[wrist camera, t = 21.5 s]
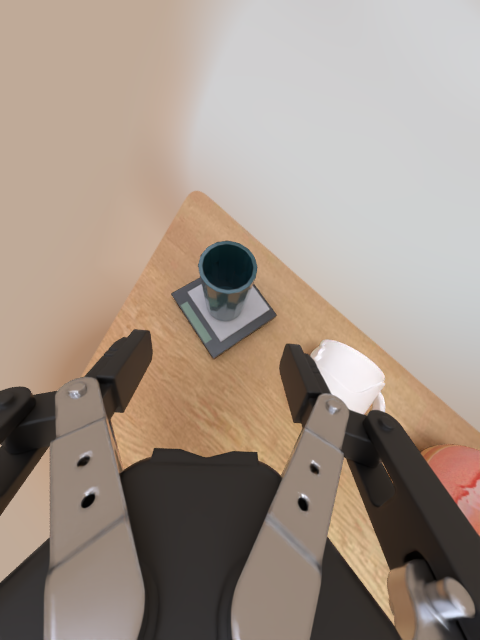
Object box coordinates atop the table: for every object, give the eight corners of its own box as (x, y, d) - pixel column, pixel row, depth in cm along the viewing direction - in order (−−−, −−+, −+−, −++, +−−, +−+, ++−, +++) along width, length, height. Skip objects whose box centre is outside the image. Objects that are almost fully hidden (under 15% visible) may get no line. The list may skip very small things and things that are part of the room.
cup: (219, 328, 29) (219, 304, 18) (198, 297, 30) (187, 257, 19) (251, 308, 30) (268, 274, 20) (230, 279, 31) (235, 232, 20)
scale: (213, 359, 30) (213, 358, 28) (173, 298, 32) (169, 291, 30) (273, 318, 33) (278, 314, 30) (233, 264, 35) (234, 255, 32)
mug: (279, 389, 30) (300, 396, 22) (311, 343, 32) (340, 334, 25) (343, 442, 29) (387, 468, 21) (371, 390, 32) (420, 396, 24)
